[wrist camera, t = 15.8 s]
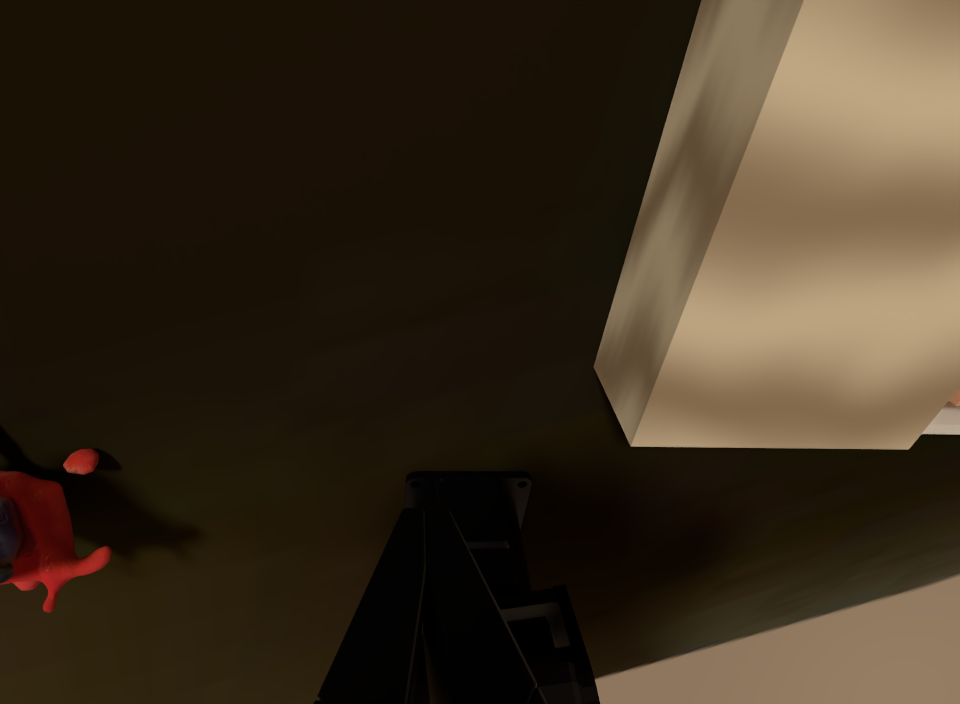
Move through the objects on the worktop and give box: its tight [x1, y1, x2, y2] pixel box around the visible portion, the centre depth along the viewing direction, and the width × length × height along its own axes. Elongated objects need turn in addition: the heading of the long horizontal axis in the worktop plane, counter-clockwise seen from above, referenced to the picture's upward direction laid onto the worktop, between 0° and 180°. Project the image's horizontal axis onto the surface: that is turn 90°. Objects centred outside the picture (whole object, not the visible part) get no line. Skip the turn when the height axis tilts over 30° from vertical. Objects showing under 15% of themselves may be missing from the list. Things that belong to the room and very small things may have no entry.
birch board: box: [594, 0, 960, 449], centre depth 17 cm, size 18×12×5 cm, turn 174°
